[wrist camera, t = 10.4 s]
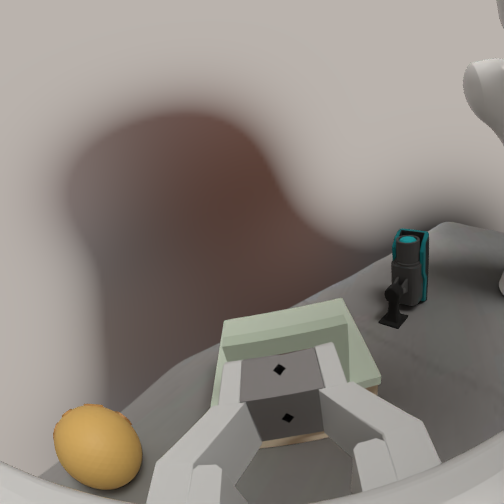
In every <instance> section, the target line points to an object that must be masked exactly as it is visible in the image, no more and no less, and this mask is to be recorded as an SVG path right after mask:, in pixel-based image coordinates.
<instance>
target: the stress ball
mask: <svg viewBox="0 0 504 504" xmlns="http://www.w3.org/2000/svg"><path fill="white" fill-rule="evenodd" d="M131 425H132V424H131V422H130V421H129V420H128V419H127V418H126V417H125V416H124V415H122V414H121V413H120V412H114V411H112V410H110V409H107V408H104V407H103V405H97V404H96V405H95V404H84V406H81V407H77V408H75V409H70V410H68V411H67V412H66V413H64V414H63V415H62V418H61V420H60V421H59V422H58V423H57V424H56V426H55V429H54V433H53V438H54V445H55V450H56V454H57V456H58V459H59V461H60V463H61V464H62V466H63V467H64V468H65V470H66V471H67V472H68V473H69V474H70V475H71V476H72V477H73V478H75V479H76V480H77V481H79V482H81V483H82V484H84V485H87V486H89V487H92V488H96V489H102V490H110V489H116V488H119V487H122V486H124V485H125V484H127V483H129V482H130V481H131V480H132V479H133V478H134V477H135V476H136V474H137V473H138V471H139V468H140V466H141V461H142V448H141V444H140V441H139V438H138V436H137V434H136V432H135V430H134V429H133V427H132V426H131Z"/></svg>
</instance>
